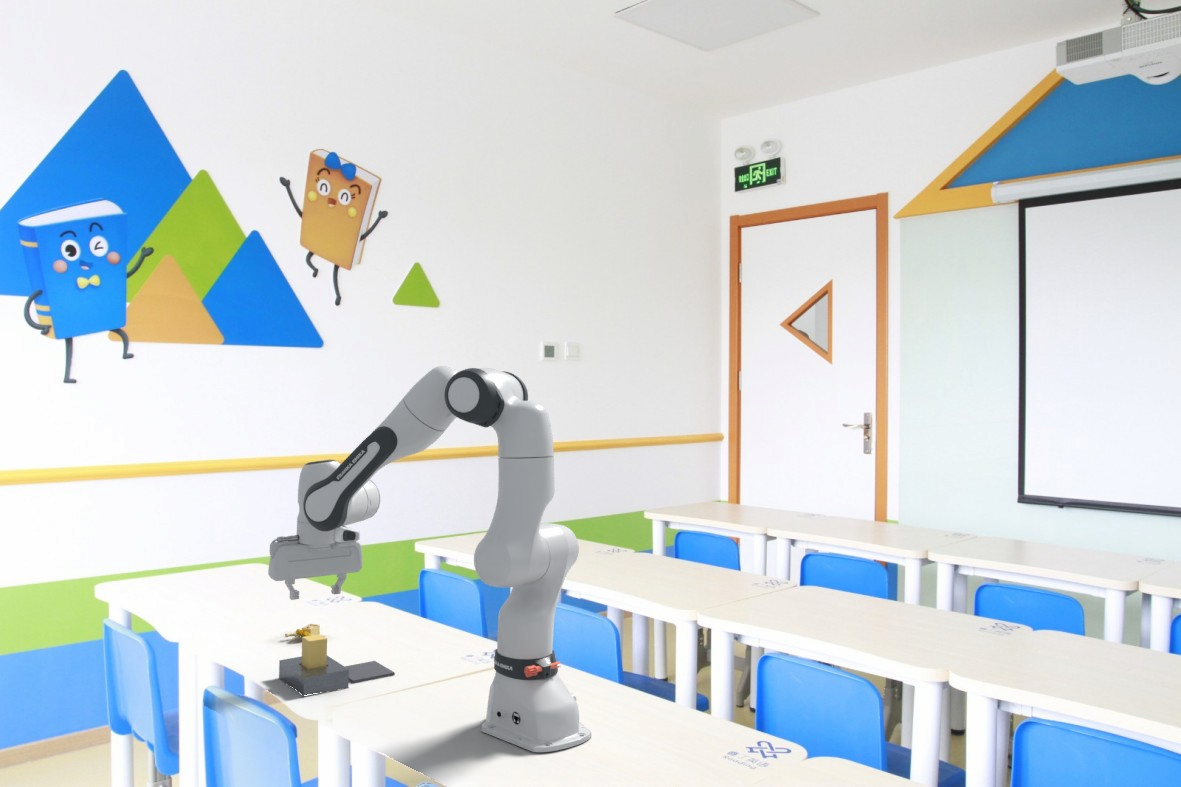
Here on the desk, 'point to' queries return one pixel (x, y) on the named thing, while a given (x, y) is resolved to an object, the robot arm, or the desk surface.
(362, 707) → the desk surface
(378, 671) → the rubber mat
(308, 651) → the square block
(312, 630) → the character toy
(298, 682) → the grey block with hole
